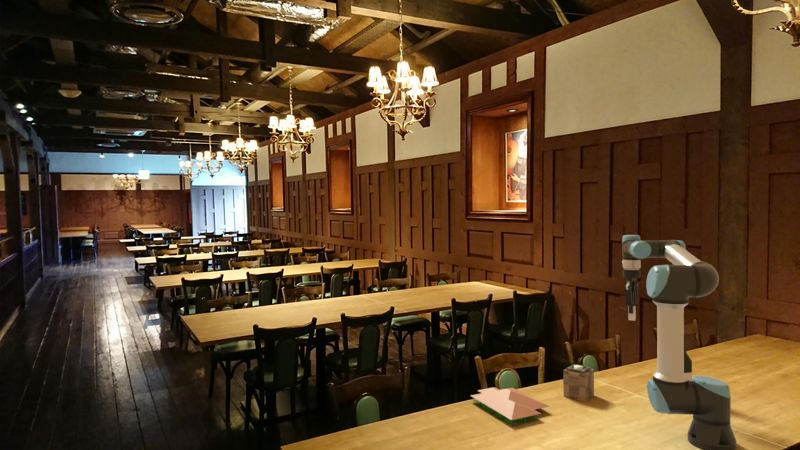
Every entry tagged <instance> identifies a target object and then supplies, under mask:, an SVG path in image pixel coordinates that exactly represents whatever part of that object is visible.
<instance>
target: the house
mask: <svg viewBox="0 0 800 450" xmlns="http://www.w3.org/2000/svg"><path fill="white" fill-rule="evenodd" d="M477 392H479V393H477V394H470V397H472V399H474V400H475V403H478V402H479V405H480V407H483V410H486V411H488V412H493V411H494V412H495V416H496V417H497V418H499V417H500V418H502V421H503V422H505V420H506V419H507V424H508V425H510V423H511V421H512V424H514V425H515V426H516V425H517V423H522V424H524V423H525V421H528V418H529V422H531V421H532V422H535V421H534V420H538V418H539V415H541V414H542V413H541V412H539V411H537V410H540V409H545V408H549V407H550V405H548V404H546V403H544V402H542V401H540V400H538V399H536V398H534V397H532V396H529V395H528V394H526V393H524V392H522V391H520V390H518V389H517V388H513V387H508V388H503V389H502V388H501V389H499V388H497V387H493V386H492V387H488V388H484V389H483V388H482V389H478V390H477Z"/></svg>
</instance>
